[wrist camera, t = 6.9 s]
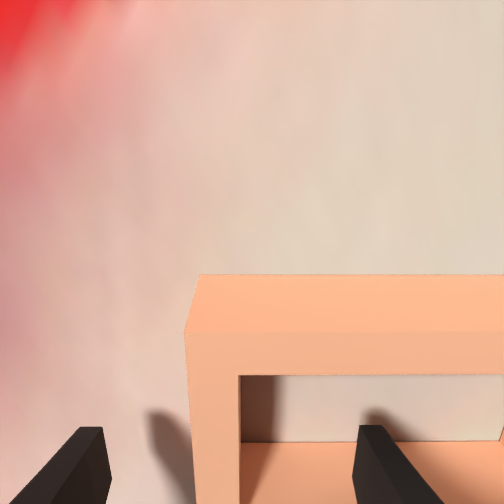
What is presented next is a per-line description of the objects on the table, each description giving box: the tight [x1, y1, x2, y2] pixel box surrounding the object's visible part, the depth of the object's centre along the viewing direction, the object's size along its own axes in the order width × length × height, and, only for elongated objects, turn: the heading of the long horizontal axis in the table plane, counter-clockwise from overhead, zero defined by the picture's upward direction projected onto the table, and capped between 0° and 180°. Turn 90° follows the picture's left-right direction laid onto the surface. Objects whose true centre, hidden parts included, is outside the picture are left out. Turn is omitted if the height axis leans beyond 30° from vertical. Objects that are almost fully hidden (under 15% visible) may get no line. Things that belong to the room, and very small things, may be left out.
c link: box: [184, 275, 504, 504], centre depth 11 cm, size 12×8×3 cm, turn 90°
